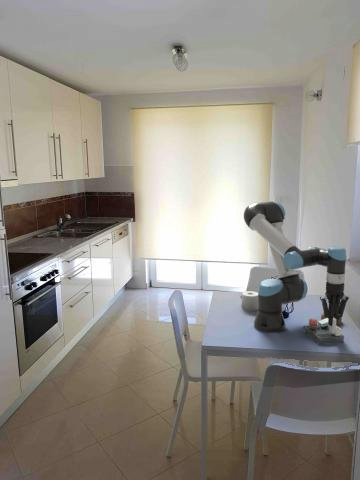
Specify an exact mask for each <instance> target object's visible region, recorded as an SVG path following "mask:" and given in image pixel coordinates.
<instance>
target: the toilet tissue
mask: <svg viewBox="0 0 360 480" xmlns="http://www.w3.org/2000/svg"><path fill="white" fill-rule="evenodd" d="M239 297H240V299H241V308H242V310H243V311H248V312H255V311H258V291H252V290H251V291H250V290H247V291H244V292H242V293H241V295H240V296H239Z"/></svg>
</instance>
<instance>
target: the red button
mask: <svg viewBox="0 0 360 480" xmlns="http://www.w3.org/2000/svg"><path fill="white" fill-rule="evenodd" d="M308 325H310V326H317V325H318V319H316V318H309V319H308Z"/></svg>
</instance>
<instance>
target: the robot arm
mask: <svg viewBox="0 0 360 480" xmlns="http://www.w3.org/2000/svg"><path fill="white" fill-rule="evenodd" d="M285 216H286V209H285V208H284V206H283V205H282V204H281V203H280V202H278V201H265V202H253V203H250V204H249V205H247V207H246V208H245V209H244V212H243V219H244V220H243V221H244V223H245V225H246V226H247V227H248V228H249V229H251V231H256V233H258V235H259V236H260V237H261V238H263V240H265V241H266V242H267V243H268V245H269V249H270V252H271V255H272V256H271V257H272V260H273V263H274V267H275V270H276V273H277V276H276V278H268V279H263V280H262V281H260V282H259V283H258V289H257V293H258V310H257V313H256V316H255V317H254V318H255V319H254V320H253V321H254V324H253V327H254V328H255V329H256V330H258V331H261V332H264V333H280V332H283V331H284V330H285V329H286V321H285V319H284V315H283V305H287V304H291V303H298V302H299V301H303V300H304V299H305V298H306V295H307V294H308V284H307V282H306V281H305V280H304V279H303V277H300V275H299V273H298V272H296V270H298V269H301V268H307V267H312V266H322V267H325V268H326V275H325V277H326V278H325V279H326V282H325V293H324V295H323V296H320V297H319V299H320V301H321V304H322V310H323V313H324V316H325V317H327V318H328V324H329V325H330V329H329V331H330V332H331V333H336V326H339V325H338V320H339V319H340V317H341V318H342V317H343V315H344V313H345V312H344V311H345V309H346V305H347V303H348V301H349V300H350V297H349V296H347V295H345V283H344V282H346V281H345V280H346V277H345V276H346V263H347V262H346V261H347V249H346V248H345V247H342V246H330V247H328V248H327V249H324V248H320V247H317V246H310V247H308V248H306V249H305V250H301V249H300V248H298V247H297V245H295V244H294V243H293V242H292V241H291V240H290V239H288V238H287V237H286V236H285V234H284V230H283V226H284V220H285V218H286V217H285ZM333 317H334V318H333Z"/></svg>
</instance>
